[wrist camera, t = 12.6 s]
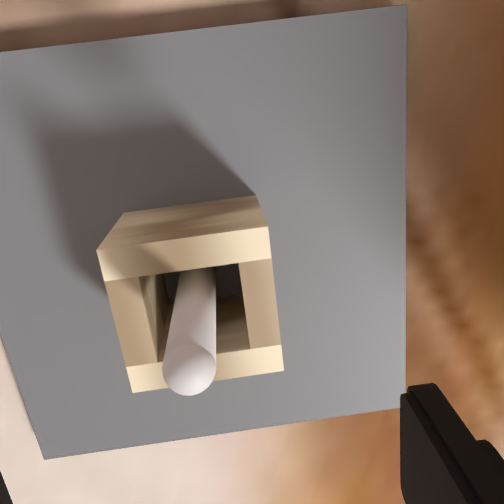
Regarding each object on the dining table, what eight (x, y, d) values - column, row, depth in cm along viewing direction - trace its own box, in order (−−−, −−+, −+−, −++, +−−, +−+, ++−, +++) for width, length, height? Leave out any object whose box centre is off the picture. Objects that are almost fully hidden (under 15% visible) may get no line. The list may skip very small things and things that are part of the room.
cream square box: (256, 195, 21) (268, 226, 16) (269, 312, 23) (284, 370, 18) (123, 212, 20) (96, 249, 16) (149, 329, 22) (132, 392, 18)
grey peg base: (395, 9, 19) (576, -71, 10) (397, 393, 26) (503, 572, 17) (-77, 64, 19) (-391, 39, 9) (51, 443, 26) (-49, 660, 16)
